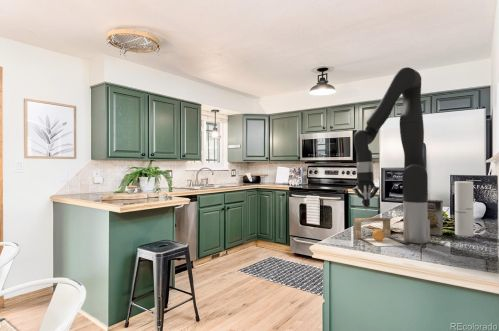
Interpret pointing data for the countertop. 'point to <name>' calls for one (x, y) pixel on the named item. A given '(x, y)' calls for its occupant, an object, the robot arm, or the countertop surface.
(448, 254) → the countertop surface
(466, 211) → the cylindrical container
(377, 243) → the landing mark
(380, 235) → the ball
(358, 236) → the bridge
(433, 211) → the coffee box
